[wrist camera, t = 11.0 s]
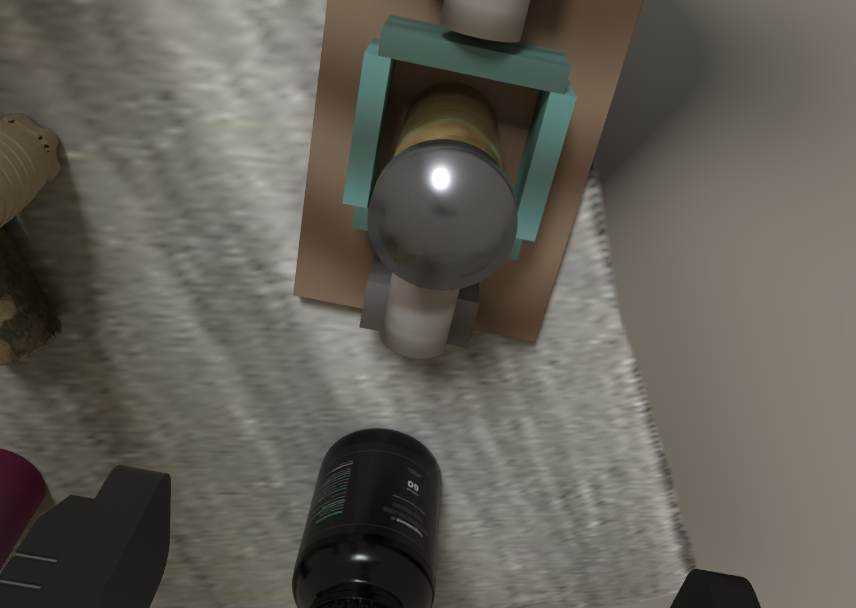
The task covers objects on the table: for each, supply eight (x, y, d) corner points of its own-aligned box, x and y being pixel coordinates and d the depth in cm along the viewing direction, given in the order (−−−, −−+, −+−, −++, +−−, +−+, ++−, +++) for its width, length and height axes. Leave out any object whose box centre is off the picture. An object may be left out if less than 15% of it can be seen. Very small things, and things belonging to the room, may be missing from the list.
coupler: (407, 64, 30) (380, 136, 21) (517, 87, 30) (534, 168, 22) (388, 170, 32) (357, 275, 24) (491, 191, 33) (497, 302, 24)
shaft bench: (350, -160, 27) (327, -169, 23) (665, -90, 28) (700, -85, 23) (297, 285, 37) (274, 339, 32) (533, 331, 37) (542, 390, 33)
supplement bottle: (465, 480, 42) (463, 675, 32) (375, 530, 45) (345, 727, 34) (388, 403, 40) (359, 587, 30) (297, 460, 42) (240, 649, 32)
